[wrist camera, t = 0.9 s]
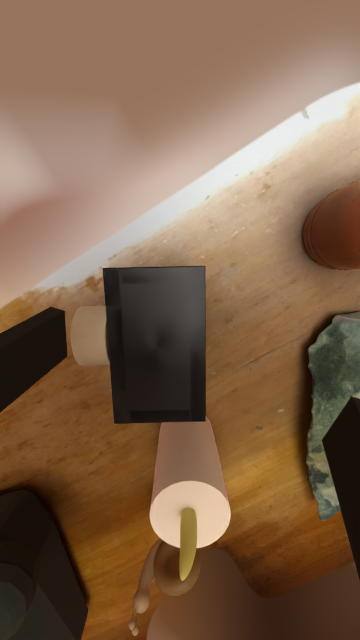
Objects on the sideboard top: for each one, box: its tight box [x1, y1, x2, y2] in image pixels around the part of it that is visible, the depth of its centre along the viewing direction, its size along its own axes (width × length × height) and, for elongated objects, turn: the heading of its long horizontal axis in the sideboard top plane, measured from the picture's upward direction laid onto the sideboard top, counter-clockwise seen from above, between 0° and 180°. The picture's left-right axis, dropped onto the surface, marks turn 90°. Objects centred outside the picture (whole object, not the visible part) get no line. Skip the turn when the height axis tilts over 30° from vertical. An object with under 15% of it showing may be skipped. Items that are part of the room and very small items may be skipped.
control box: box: [103, 266, 206, 424], centre depth 21 cm, size 10×6×12 cm, turn 1°
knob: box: [71, 306, 110, 366], centre depth 19 cm, size 5×6×5 cm
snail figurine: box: [129, 538, 201, 636], centre depth 25 cm, size 5×6×12 cm
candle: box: [150, 416, 231, 581], centre depth 22 cm, size 6×6×15 cm
